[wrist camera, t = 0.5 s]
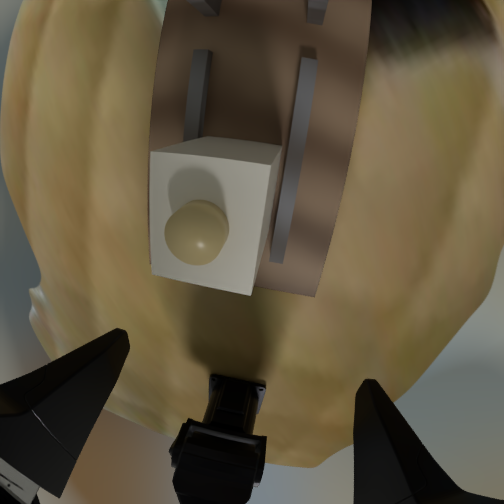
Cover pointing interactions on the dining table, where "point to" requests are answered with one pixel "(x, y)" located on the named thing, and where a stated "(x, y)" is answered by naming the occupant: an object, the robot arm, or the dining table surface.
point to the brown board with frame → (270, 108)
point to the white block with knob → (212, 210)
